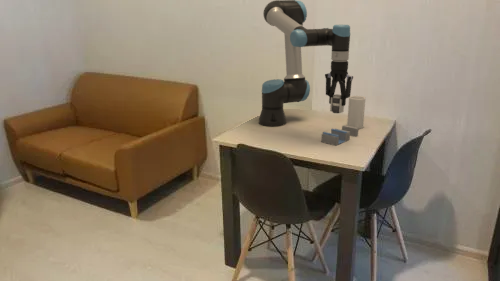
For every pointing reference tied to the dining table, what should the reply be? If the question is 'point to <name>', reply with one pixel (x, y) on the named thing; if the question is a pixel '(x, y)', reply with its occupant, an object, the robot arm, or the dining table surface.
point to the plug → (336, 103)
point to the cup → (356, 111)
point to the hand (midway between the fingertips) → (336, 111)
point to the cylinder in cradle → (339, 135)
